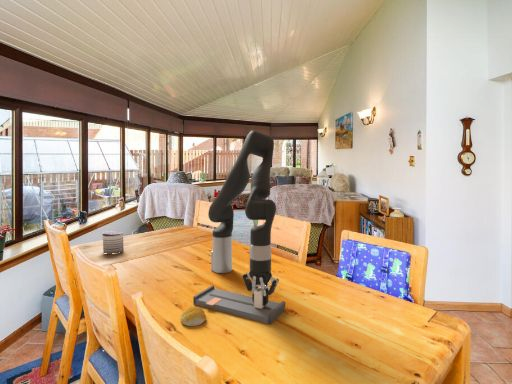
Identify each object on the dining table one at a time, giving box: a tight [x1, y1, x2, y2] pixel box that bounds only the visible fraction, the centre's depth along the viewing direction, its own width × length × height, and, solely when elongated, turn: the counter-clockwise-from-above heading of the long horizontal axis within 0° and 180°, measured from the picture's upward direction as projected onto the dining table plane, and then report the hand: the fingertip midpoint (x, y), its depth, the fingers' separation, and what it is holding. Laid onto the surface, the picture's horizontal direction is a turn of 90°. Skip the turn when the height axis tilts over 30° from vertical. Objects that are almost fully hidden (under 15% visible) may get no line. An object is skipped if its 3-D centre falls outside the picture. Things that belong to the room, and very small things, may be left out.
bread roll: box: [180, 306, 207, 327], centre depth 109 cm, size 8×9×4 cm
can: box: [102, 230, 125, 254], centre depth 188 cm, size 11×11×12 cm
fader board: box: [192, 285, 286, 325], centre depth 118 cm, size 32×13×3 cm, turn 62°
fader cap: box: [254, 286, 264, 309], centre depth 114 cm, size 3×4×6 cm
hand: (260, 303), depth 115 cm, fingers closed on fader cap, 3 cm apart
